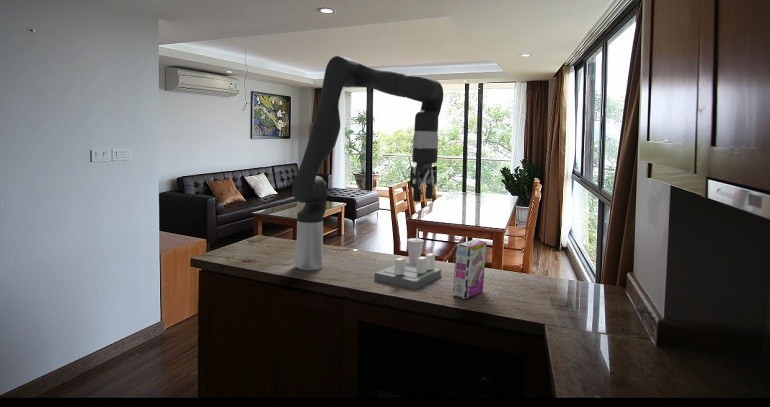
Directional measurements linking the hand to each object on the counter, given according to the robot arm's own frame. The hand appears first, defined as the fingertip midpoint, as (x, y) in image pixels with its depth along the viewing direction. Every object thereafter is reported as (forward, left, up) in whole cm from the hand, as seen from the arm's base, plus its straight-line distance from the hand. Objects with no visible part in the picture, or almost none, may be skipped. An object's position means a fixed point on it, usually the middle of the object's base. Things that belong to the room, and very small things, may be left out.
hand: (422, 200), depth 144 cm
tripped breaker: (-10, +5, -26) cm, 28 cm away
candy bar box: (+14, +8, -29) cm, 33 cm away
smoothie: (-17, +28, -29) cm, 44 cm away
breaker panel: (-10, +11, -29) cm, 32 cm away
